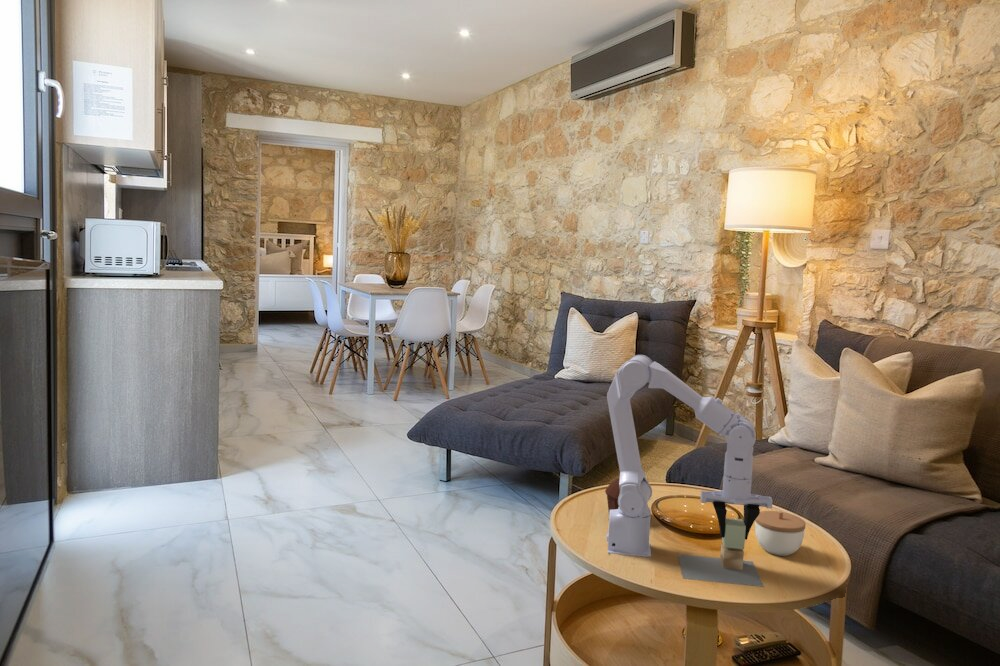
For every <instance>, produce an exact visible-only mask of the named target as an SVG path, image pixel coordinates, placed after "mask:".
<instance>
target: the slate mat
mask: <svg viewBox="0 0 1000 666" xmlns="http://www.w3.org/2000/svg"><path fill="white" fill-rule="evenodd" d="M677 556H678V560H679V561H678V562H679V566H680V571H681V575H682V579H684V580H693V581H701V582H702V581H703V582H712V583H713V582H715V583H723V584H731V585H732V584H733V585H742V586H750V587H751V586H752V587H759V588H760V587H762V588H765V585H764V583H763V580H762V579H761V577H760V575H759V572H758V569H757V568H756V565H755V564H754V561H752V560H751V561H750V560H743V570H737V569H727V568H723V566H722V563H721V561H720V558H721V557H710V556H703V555H702V556H701V555H689V554H679V553H677Z"/></svg>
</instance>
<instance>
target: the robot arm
mask: <svg viewBox="0 0 1000 666" xmlns="http://www.w3.org/2000/svg"><path fill="white" fill-rule="evenodd" d="M647 383H648V386H647V388H648V389H662V390H664V391H665V392H667V393H669V394H670V395H672V396H674V397H675V398H677V399H678V400H679V401H680V402H682V403H684V404H685V405H687V406H688V407H690V408H692V409H693V411H694V415H695V416H694V417H695V419H696V420H699V421H700V422H701V423H702V424H704V425H705V426H706V427H708V428H709V429H711V430H712V431H713V432H715V433H716V434H718V435H719V436H720V437H721V436H722V437H725V441H726V443H727V444H726V451H725V453H724V465H723V479H722V490H713V491H712V490H710V491H707V490H706V491H705V490H703V491H702V490H701V491H700V499H699V500H700V502H701V503H703V504H707V503H712V505H713V508H714V510H715V514H716V518H717V523H718V527H719V536H720V537H721V538H722V537H724V536H725V519H726V518H727V512H728V511H727V507H726V506H727V505H726V504H728V505H740V506H743V521H744V524H745V526H746V531H745V541H746V540H748V537H749V533H750V530H751V528H752V526H753V525H754V524H755V519H756V518H757V517H758V515H759V513H760V512H761V509H760V507H762V508H766V509H773V503H774V502H773V501H774V500H773V499H772V497H771V496H765V495H759V494H755V493H751V491H752V480H753V469H754V455H753V454H754V445H755V443H756V440H757V439H756V429H755V426H754V424H753V423H752V422H751V421H750V420H749V419H748V418H747V417H744V416H742V414H741V413H740V412H737V413H736V412H734V411H733V410H732V409H730V408H729V407H728V406H726V405H724V404H723V400H722V399H720V397H717V398H715V397H713V396H702V395H701V394H699V393H698V392H697V391H695V390H694V389H693V388H692V387H691V386H689V385H688V384H687V383H685V382H684V381H683V380H681V379H680V378H679V377H678V376H677V375H675V374H673V373H672V372H671V371H670V370H668V368H665V366H663V365H662V364H660V363H658V362H657V361H653V360H652V359H651V358H650V357H648V356H647V355H644V354H635V355H634V356H632V357H631V358H630V359H628V360H626V361H625V362H624V363H623V364H622V365H621V366H620V367H619V368H618V370H616V372H615V375H614V377H613V380H612V382H611V384H610V386H609V388H608V390H607V393H606V399H607V400H606V401H607V404H608V405H607V407H608V411H609V418H610V422H611V428H612V429H611V430H612V434H613V440H614V444H615V445H614V446H615V452H616V458H617V462H618V468H619V478H620V480H619V487H620V494H619V497H618V505H619V507H618V509H614V510H610V512H609V511H608V517H609V518H608V532H607V533H606V542H607V554H614V555H615V554H616V555H623V556H624V555H625V556H634V557H646V558H651V557H652V552H651V551H652V550H651V543H650V530H651V515H652V512H651V511H652V510H651V509H650V507H649V504H648V502H649V501H650V499H651V497H652V496H653V488H652V486H651V484H650V483H649V481H648V480H647V477H646V473H645V471H644V468H643V467H642V461H641V456H640V450H639V445H638V439H637V434H636V433H637V432H636V427H635V421H634V415H633V410H632V405H631V398H632V397H633V396H634V395H635V393H636V392H637V391H638V390H640V389H641V388H643V387H644V386H645V385H646V384H647Z"/></svg>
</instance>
